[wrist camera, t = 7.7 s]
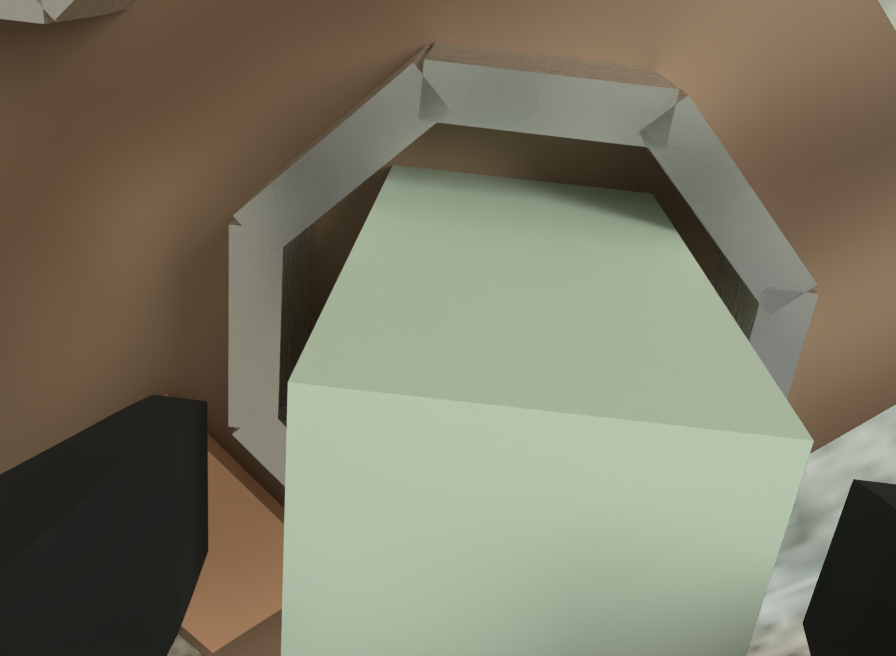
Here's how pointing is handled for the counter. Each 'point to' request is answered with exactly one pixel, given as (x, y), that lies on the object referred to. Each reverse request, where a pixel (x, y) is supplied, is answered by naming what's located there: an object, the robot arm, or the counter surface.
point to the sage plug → (529, 436)
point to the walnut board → (441, 148)
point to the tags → (236, 555)
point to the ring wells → (494, 107)
